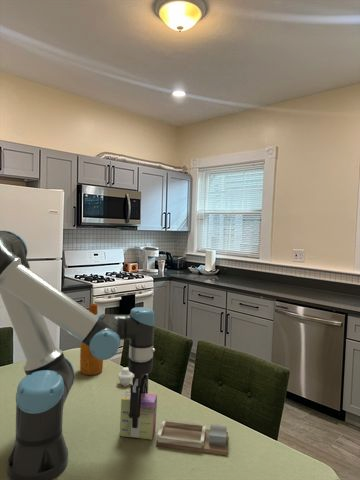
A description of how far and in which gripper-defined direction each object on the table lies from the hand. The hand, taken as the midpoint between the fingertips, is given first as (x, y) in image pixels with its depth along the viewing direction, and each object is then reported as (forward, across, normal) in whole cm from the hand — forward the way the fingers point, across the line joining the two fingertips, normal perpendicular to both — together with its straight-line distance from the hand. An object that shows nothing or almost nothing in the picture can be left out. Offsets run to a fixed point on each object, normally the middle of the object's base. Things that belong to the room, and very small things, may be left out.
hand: (138, 430), depth 113 cm
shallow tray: (+1, 0, -18) cm, 18 cm away
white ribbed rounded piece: (+1, +32, +14) cm, 35 cm away
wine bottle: (+1, +40, +32) cm, 51 cm away
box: (+1, 0, 0) cm, 1 cm away
